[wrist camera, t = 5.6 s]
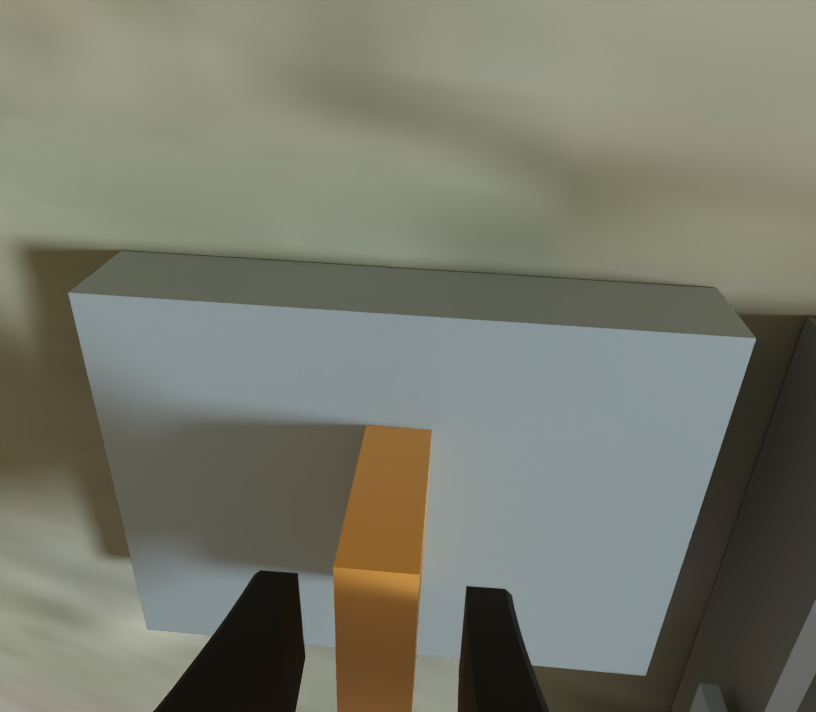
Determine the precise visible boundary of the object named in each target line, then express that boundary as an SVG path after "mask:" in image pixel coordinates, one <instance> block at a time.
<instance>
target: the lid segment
mask: <svg viewBox="0 0 816 712" xmlns="http://www.w3.org/2000/svg"><path fill="white" fill-rule="evenodd" d="M689 712H727V709H726V706H725V703H724V700H723V697H722V694H721V691H720V689H719V686H718V685H714V684H702V683H700V684H699V687H698V690H697V692H696V695H695V698H694V700H693V703H692V706H691V709H690V711H689Z"/></svg>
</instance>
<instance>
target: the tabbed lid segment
mask: <svg viewBox="0 0 816 712" xmlns="http://www.w3.org/2000/svg"><path fill="white" fill-rule="evenodd" d="M68 295H69V299H70V303H71V307H72V311H73V316H74V320H75V324H76V328H77V333H78V337H79V341H80V345H81V350H82V354H83V358H84V362H85V367H86V371H87V375H88V379H89V384H90V388H91V392H92V396H93V401H94V405H95V409H96V413H97V418H98V422H99V426H100V430H101V435H102V439H103V443H104V447H105V452H106V456H107V460H108V464H109V469H110V473H111V477H112V481H113V486H114V490H115V494H116V498H117V503H118V507H119V511H120V515H121V520H122V524H123V528H124V532H125V537H126V541H127V545H128V549H129V554H130V558H131V562H132V566H133V570H134V575H135V579H136V583H137V587H138V592H139V596H140V600H141V604H142V609H143V613H144V617H145V621H146V626H147V629H148V630H159V631H170V632H180V633H191V634H202V635H212V636H213V634H214V633H215V631H216V630H217V629H218V627H219V626H220V625H221V623H222V622H223V620H224V619H225V617H226V616H227V615H228V613H229V612H230V610H231V609H232V607H233V606H234V604H235V603H236V601H237V600H238V599H239V597H240V596H241V594H242V593H243V591H244V590H245V588H246V586H247V585H248V583H249V582H250V580H251V579H252V577H253V575H254V574H256V573H257V572H259V571H260V570H264V571H277V572H290V573H298V581H299V592H300V603H301V615H302V626H303V637H304V644H309V645H319V646H330V647H336V680H337V712H412V706H413V694H414V681H415V669H416V656H417V655H427V656H437V657H448V658H459V659H460V653H461V641H462V629H463V618H464V606H465V595H466V586H474V587H487V588H500V589H506V590H507V591H508V592H509V593H510V594H512V598H513V603H514V608H515V612H516V616H517V620H518V624H519V627H520V631H521V634H522V637H523V641H524V644H525V647H526V650H527V653H528V656H529V659H530V662H531V665H534V666H544V667H555V668H566V669H576V670H587V671H598V672H608V673H619V674H630V675H641V676H646V673H647V670H648V667H649V664H650V661H651V658H652V655H653V652H654V648H655V645H656V642H657V639H658V636H659V633H660V630H661V627H662V624H663V621H664V618H665V615H666V612H667V609H668V606H669V603H670V600H671V597H672V594H673V591H674V588H675V585H676V582H677V579H678V575H679V572H680V569H681V566H682V563H683V560H684V557H685V554H686V551H687V548H688V545H689V542H690V539H691V536H692V533H693V530H694V527H695V524H696V521H697V518H698V515H699V512H700V509H701V506H702V502H703V499H704V496H705V493H706V490H707V487H708V484H709V481H710V478H711V475H712V472H713V469H714V466H715V463H716V460H717V457H718V454H719V451H720V448H721V445H722V442H723V439H724V436H725V433H726V429H727V426H728V423H729V420H730V417H731V414H732V411H733V408H734V405H735V402H736V399H737V396H738V393H739V390H740V387H741V384H742V381H743V378H744V375H745V372H746V369H747V366H748V363H749V359H750V356H751V353H752V350H753V347H754V344H755V341H756V337H755V336H754V335H753V333H752V332H751V331H750V330H749V328H748V327H747V326H746V324H745V323H744V322H743V321H742V319H741V318H740V317H739V316H738V314H737V313H736V312H735V310H734V309H733V308H732V307H731V305H730V304H729V303H728V302H727V300H726V299H725V298H724V296H723V295H722V294H721V293H720V291H719V290H718V289H717V288H707V287H691V286H675V285H659V284H643V283H627V282H611V281H595V280H580V279H564V278H548V277H532V276H516V275H500V274H484V273H468V272H452V271H436V270H420V269H404V268H388V267H372V266H356V265H340V264H325V263H309V262H293V261H277V260H261V259H245V258H229V257H213V256H197V255H181V254H165V253H149V252H133V251H120V252H119V253H118V254H116V255H115V256H114V257H113V258H111V259H110V260H109V261H108V262H106V263H105V264H104V265H102V266H101V267H100V268H99V269H97V270H96V271H95V272H94V273H92V274H91V275H90V276H89V277H87V278H86V279H85V280H83V281H82V282H81V283H80V284H78V285H77V286H76V287H75V288H73V289H72V290H71V291H69V292H68Z"/></svg>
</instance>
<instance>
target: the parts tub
mask: <svg viewBox="0 0 816 712" xmlns="http://www.w3.org/2000/svg"><path fill="white" fill-rule="evenodd" d="M700 683H702V684H714V685H718V686H719V689H720V691H721V694H722V697H723V700H724V703H725V706H726V709H727V712H816V317H812V316H807V317H806V320H805V323H804V326H803V329H802V332H801V335H800V338H799V340H798V343H797V346H796V349H795V352H794V355H793V358H792V361H791V364H790V367H789V369H788V372H787V375H786V378H785V381H784V384H783V387H782V390H781V393H780V396H779V398H778V401H777V404H776V407H775V410H774V413H773V416H772V419H771V422H770V425H769V427H768V430H767V433H766V436H765V439H764V442H763V445H762V448H761V451H760V454H759V456H758V459H757V462H756V465H755V468H754V471H753V474H752V477H751V480H750V483H749V485H748V488H747V491H746V494H745V497H744V500H743V503H742V506H741V509H740V512H739V514H738V517H737V520H736V523H735V526H734V529H733V532H732V535H731V538H730V541H729V544H728V546H727V549H726V552H725V555H724V558H723V561H722V564H721V567H720V570H719V573H718V575H717V578H716V581H715V584H714V587H713V590H712V593H711V596H710V599H709V602H708V604H707V607H706V610H705V613H704V616H703V619H702V622H701V625H700V628H699V631H698V633H697V636H696V639H695V642H694V645H693V648H692V651H691V654H690V657H689V660H688V662H687V665H686V668H685V671H684V674H683V677H682V680H681V683H680V686H679V689H678V691H677V694H676V697H675V700H674V703H673V706H672V709H671V712H689V711H690V709H691V706H692V703H693V700H694V698H695V695H696V692H697V690H698V687H699V684H700Z"/></svg>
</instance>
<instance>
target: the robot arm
mask: <svg viewBox="0 0 816 712" xmlns="http://www.w3.org/2000/svg"><path fill="white" fill-rule="evenodd" d="M304 662H305V648H304V637H303V626H302V615H301V603H300V592H299V581H298V573H290V572H277V571H264V570H260V571H259V572H257V573H256V574H254V575H253V577H252V579H251V580H250V582H249V583H248V585H247V586H246V588H245V590H244V591H243V593H242V594H241V596H240V597H239V599H238V600H237V601H236V603H235V604H234V606H233V607H232V609H231V610H230V612H229V613H228V615H227V616H226V617H225V619H224V620H223V622H222V623H221V625H220V626H219V627H218V629H217V630H216V631H215V633H214V634H213V636H212V637H211V638H210V640H209V641H208V643H207V644H206V645H205V647H204V648H203V649H202V651H201V652H200V653H199V655H198V656H197V657H196V658H195V660H194V661H193V662H192V664H191V665H190V666H189V668H188V669H187V670H186V671H185V673H184V674H183V675H182V677H181V678H180V679H179V680H178V682H177V683H176V684H175V686H174V687H173V688H172V690H171V691H170V692H169V693H168V695H167V696H166V697H165V698H164V700H163V701H162V702H161V703H160V704H159V706H158V707H157V708H156V709H155V710H154V711H153V712H295V710H296V705H297V700H298V695H299V689H300V684H301V678H302V673H303V667H304ZM458 712H549V710H548V707H547V705H546V702H545V700H544V697H543V695H542V692H541V690H540V687H539V684H538V682H537V679H536V676H535V673H534V671H533V668H532V665H531V662H530V659H529V656H528V653H527V650H526V647H525V644H524V641H523V637H522V634H521V631H520V627H519V624H518V620H517V616H516V612H515V608H514V603H513V598H512V594H510V593H509V592H508V591H507V590H506V589H500V588H487V587H474V586H466V595H465V606H464V618H463V629H462V641H461V653H460V664H459V687H458Z"/></svg>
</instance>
